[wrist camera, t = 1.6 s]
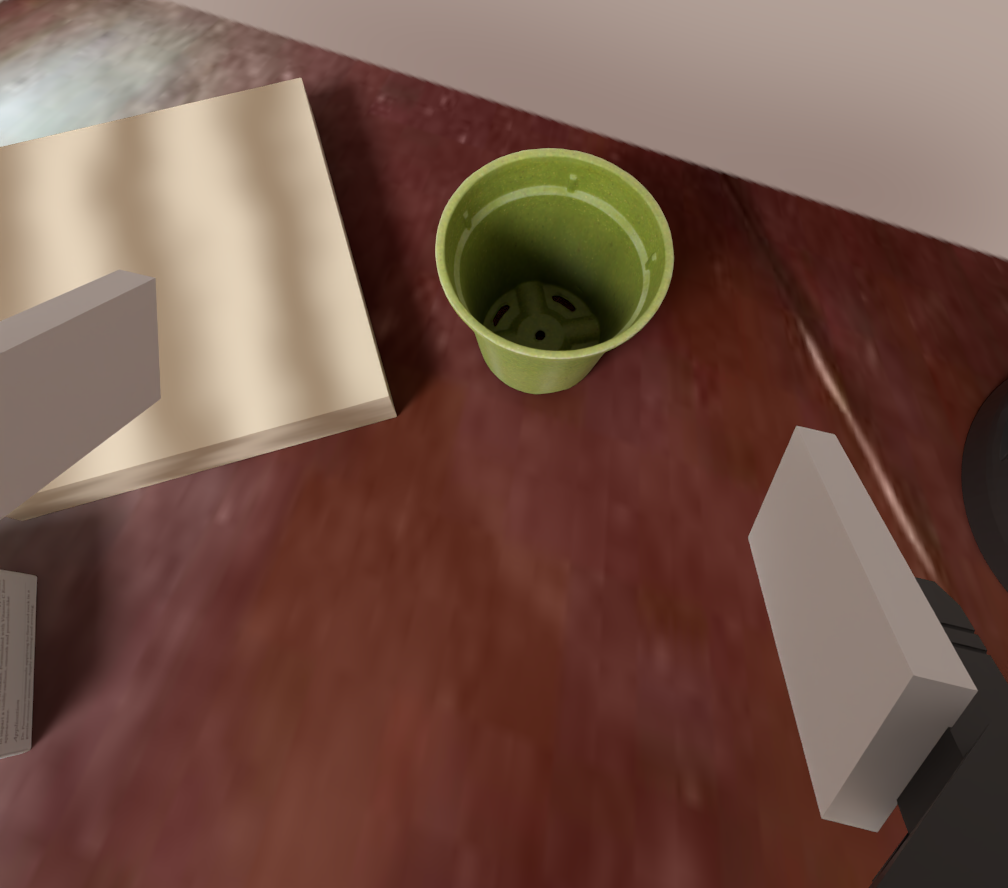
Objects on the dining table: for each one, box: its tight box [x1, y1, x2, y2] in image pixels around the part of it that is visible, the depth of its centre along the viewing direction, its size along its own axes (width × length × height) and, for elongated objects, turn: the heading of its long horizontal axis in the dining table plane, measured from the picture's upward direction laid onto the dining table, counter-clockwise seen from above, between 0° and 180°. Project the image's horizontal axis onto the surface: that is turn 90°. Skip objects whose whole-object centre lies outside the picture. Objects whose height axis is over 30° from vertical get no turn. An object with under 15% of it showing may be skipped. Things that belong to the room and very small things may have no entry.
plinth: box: [0, 78, 397, 521], centre depth 36 cm, size 18×18×3 cm
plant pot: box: [435, 148, 674, 394], centre depth 33 cm, size 9×9×9 cm
